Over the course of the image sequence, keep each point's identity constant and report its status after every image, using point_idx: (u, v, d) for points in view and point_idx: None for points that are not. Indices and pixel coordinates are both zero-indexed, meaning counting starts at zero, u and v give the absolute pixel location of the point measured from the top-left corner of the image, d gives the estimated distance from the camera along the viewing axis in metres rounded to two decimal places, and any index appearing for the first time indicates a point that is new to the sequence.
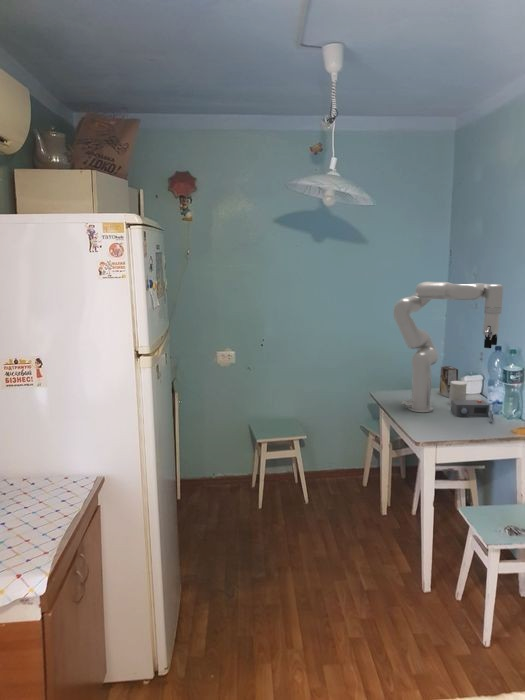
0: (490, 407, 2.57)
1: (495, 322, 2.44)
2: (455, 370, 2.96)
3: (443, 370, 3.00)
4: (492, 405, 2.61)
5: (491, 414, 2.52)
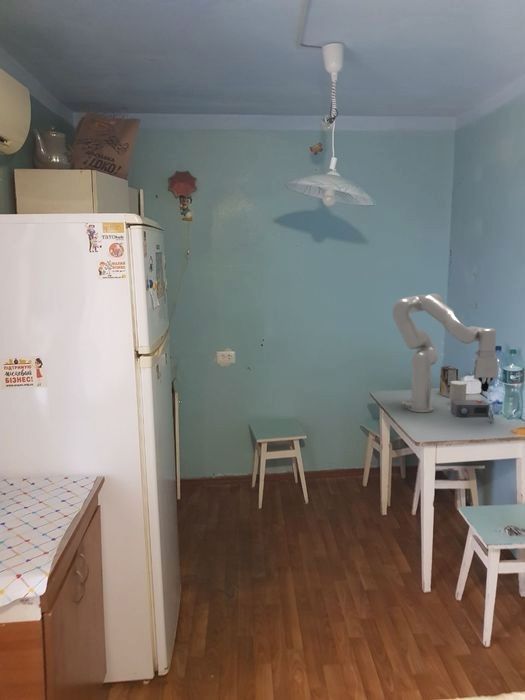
0: (490, 407, 2.57)
1: None
2: (455, 370, 2.96)
3: (443, 370, 3.00)
4: (492, 405, 2.61)
5: (491, 414, 2.52)
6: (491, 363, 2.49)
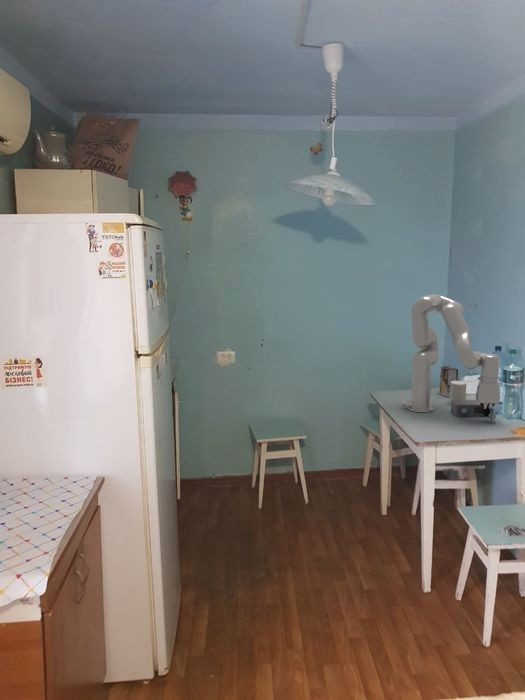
0: None
1: None
2: (455, 370, 2.96)
3: (443, 370, 3.00)
4: None
5: (494, 414, 2.52)
6: (493, 389, 2.50)
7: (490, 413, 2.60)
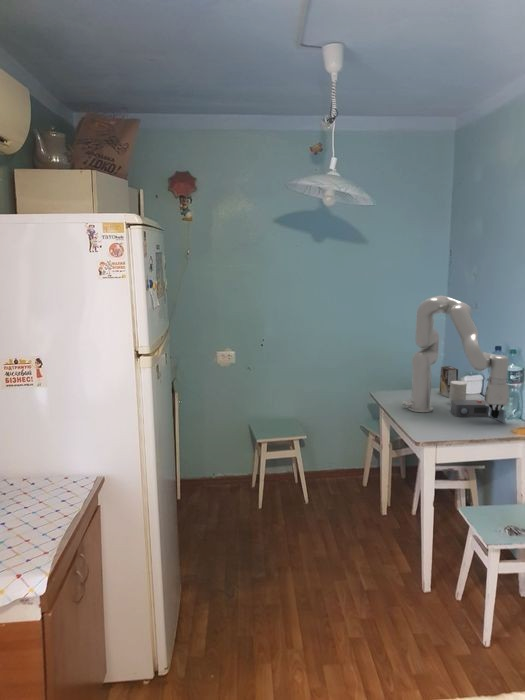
0: None
1: None
2: (455, 370, 2.96)
3: (443, 370, 3.00)
4: None
5: (505, 414, 2.52)
6: (502, 390, 2.49)
7: None
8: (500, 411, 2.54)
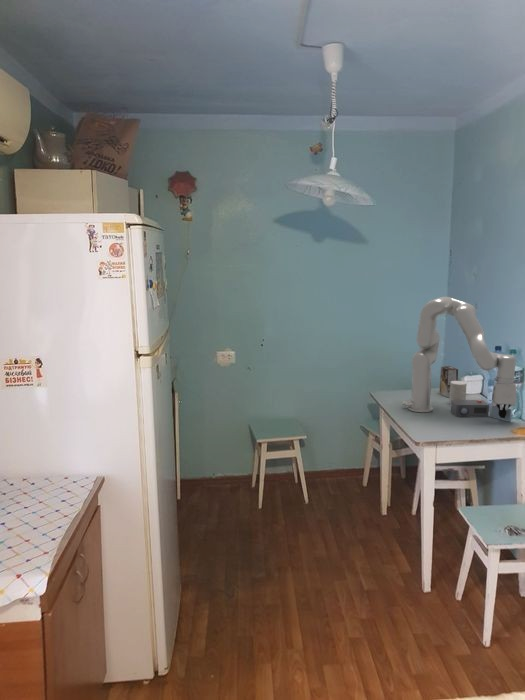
0: None
1: None
2: (455, 370, 2.96)
3: (443, 370, 3.00)
4: (492, 405, 2.61)
5: None
6: (510, 390, 2.49)
7: (494, 413, 2.60)
8: None
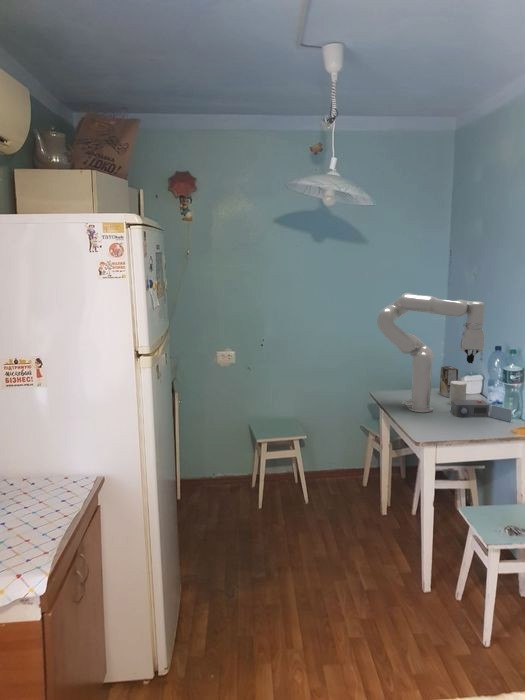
0: (500, 407, 2.57)
1: None
2: (455, 370, 2.96)
3: (443, 370, 3.00)
4: (492, 405, 2.61)
5: None
6: (478, 336, 2.57)
7: (494, 413, 2.60)
8: (505, 410, 2.55)
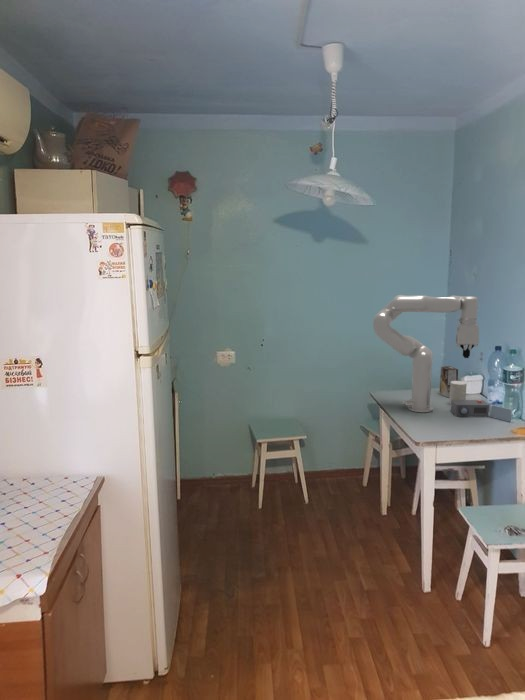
0: (500, 407, 2.57)
1: None
2: (455, 370, 2.96)
3: (443, 370, 3.00)
4: (492, 405, 2.61)
5: None
6: (472, 330, 2.58)
7: (494, 413, 2.60)
8: (505, 410, 2.55)
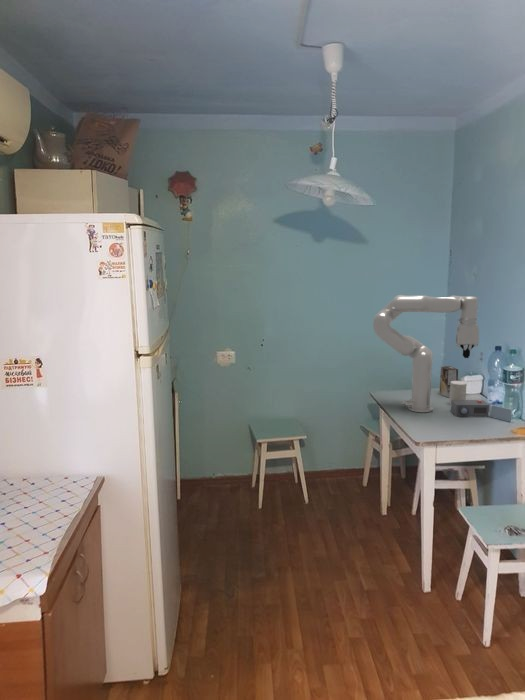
0: (500, 407, 2.57)
1: None
2: (455, 370, 2.96)
3: (443, 370, 3.00)
4: (492, 405, 2.61)
5: None
6: (472, 330, 2.58)
7: (494, 413, 2.60)
8: (505, 410, 2.55)
